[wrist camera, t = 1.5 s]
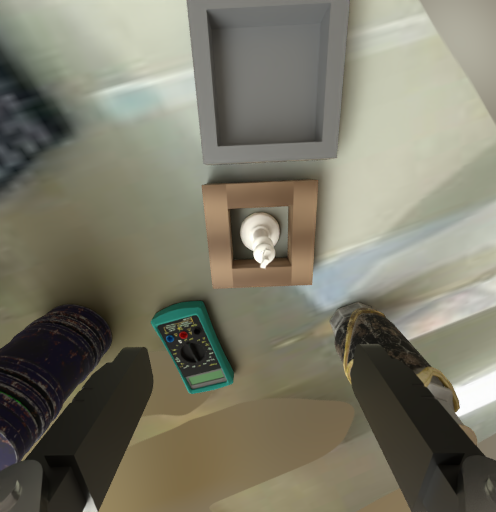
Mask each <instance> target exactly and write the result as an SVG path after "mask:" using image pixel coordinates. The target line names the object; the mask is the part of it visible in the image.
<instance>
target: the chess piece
mask: <svg viewBox="0 0 496 512" xmlns="http://www.w3.org/2000/svg"><path fill="white" fill-rule="evenodd" d="M279 235H280V229H279V225H278V223H277V221H276V220H275V218H274V217H272V216H271V215H269V214H267V213H262V212H258V213H254V214H251V215H249V216H248V217H247V218H246V219H245V220H244V221H243V223H242V225H241V228H240V237H241V240H242V242H243V243H244V245H245V246H246V247H247V248H248V249H250V250H252V251H254V253H253V255H254V258H255V260H256V261H257V262H259V263H261V265H260V268H266V265H268V263H270V262H271V261H272V260H273V259H274V257H275V249H274V248H273V247H274V246H275V244H276V243H277V241H278V239H279Z"/></svg>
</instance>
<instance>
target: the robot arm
mask: <svg viewBox="0 0 496 512" xmlns="http://www.w3.org/2000/svg"><path fill="white" fill-rule="evenodd" d="M351 383H352V388H353V391H354V394H355V396H356V398H357V400H358V402H359V404H360V406H361V408H362V410H363V412H364V415H365V417H366V419H367V421H368V423H369V425H370V427H371V429H372V431H373V433H374V435H375V437H376V439H377V441H378V443H379V445H380V448H381V450H382V452H383V454H384V456H385V458H386V460H387V462H388V464H389V466H390V468H391V470H392V472H393V474H394V476H395V479H396V481H397V483H398V485H399V487H400V489H401V491H402V493H403V495H404V497H405V499H406V501H407V503H408V505H409V507H410V509H411V512H496V460H494V459H491V458H488V457H486V456H485V455H484V454H483V453H482V452H481V451H480V450H479V448H478V447H477V446H476V445H475V444H474V443H473V441H472V440H471V439H470V438H469V437H468V435H467V434H466V433H465V432H464V431H463V429H462V428H461V427H460V426H459V425H458V424H457V422H456V421H455V420H454V419H453V418H452V416H451V415H450V414H449V413H448V412H447V411H446V409H445V408H444V407H443V406H442V405H441V403H440V402H439V401H438V400H437V399H435V398H434V395H433V394H432V393H431V392H430V390H429V389H428V388H427V387H425V386H424V383H423V382H422V381H421V380H420V378H419V377H418V376H417V375H416V374H415V373H414V371H413V370H412V369H410V368H409V367H408V366H406V365H405V364H403V363H402V362H401V361H399V360H398V359H391V357H390V356H389V355H388V354H387V352H386V351H385V350H384V348H383V347H382V346H381V345H379V344H358V345H356V347H355V353H354V359H353V365H352V372H351ZM152 388H153V374H152V369H151V364H150V360H149V355H148V351H147V349H146V348H145V347H127V348H123V349H122V350H121V351H120V353H119V354H118V355H117V357H116V358H115V359H114V361H113V362H112V363H106V364H105V365H104V366H102V367H101V368H100V369H99V370H97V371H96V372H95V373H94V374H93V375H92V376H91V377H90V378H89V380H88V381H87V382H86V383H85V385H84V386H83V387H82V390H81V391H79V392H78V393H77V395H76V396H75V397H74V399H73V400H72V403H70V404H69V405H68V406H67V407H66V409H65V410H64V411H63V413H62V414H61V415H60V416H59V417H58V419H57V420H56V421H55V423H54V424H53V425H52V426H51V428H50V429H49V430H48V431H47V433H46V434H45V435H44V436H43V438H42V439H41V440H40V441H39V443H38V444H37V445H36V446H35V448H34V449H33V450H32V452H31V453H30V454H29V455H28V456H27V458H26V459H25V460H24V461H20V462H17V463H15V464H12V465H10V466H8V467H6V468H5V469H3V470H1V471H0V512H98V511H99V509H100V507H101V504H102V502H103V500H104V498H105V495H106V493H107V491H108V489H109V487H110V484H111V482H112V480H113V478H114V476H115V473H116V471H117V469H118V467H119V464H120V462H121V460H122V458H123V456H124V453H125V451H126V449H127V447H128V445H129V442H130V440H131V438H132V436H133V433H134V431H135V429H136V427H137V425H138V422H139V420H140V418H141V416H142V413H143V411H144V409H145V407H146V405H147V402H148V400H149V398H150V396H151V393H152Z"/></svg>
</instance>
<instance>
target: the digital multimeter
mask: <svg viewBox="0 0 496 512" xmlns="http://www.w3.org/2000/svg"><path fill="white" fill-rule="evenodd" d="M198 317H199V318H198ZM199 319H200V320H199ZM151 324H152V326H153V327H154V329H155V331H156V332H157V334H158V335H159V337H160V339H161V340H162V342H163V344H164V345H165V347H166V349H167V351H168V352H169V354H170V355H171V357H172V359H173V361H174V363H175V365H176V367H177V369H178V371H179V373H180V375H181V377H182V379H183V382H184V384H185V386H186V388H187V390H188V392H189V393H191V394H193V393H200V392H205V391H210V390H214V389H218V388H221V387H224V386H227V385H230V384H232V383H233V378H234V372H233V370H232V368H231V366H230V364H229V362H228V360H227V358H226V356H225V354H224V352H223V350H222V347H221V345H220V343H219V341H218V339H217V336H216V334H215V331H214V329H213V326H212V324H211V321H210V319H209V316H208V313H207V310H206V308H205V305H204V303H203V302H202V301H189V302H181V303H177V304H174V305H171V306H169V307H167V308H165V309H163V310H161V311H159V312H158V313H156V314H155V316H154V317H153V319H152V321H151ZM203 328H204V329H203ZM204 330H205V331H204ZM208 339H209V340H208ZM209 341H210V342H209ZM213 350H214V351H213ZM214 352H215V353H214ZM218 361H219V362H218Z"/></svg>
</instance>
